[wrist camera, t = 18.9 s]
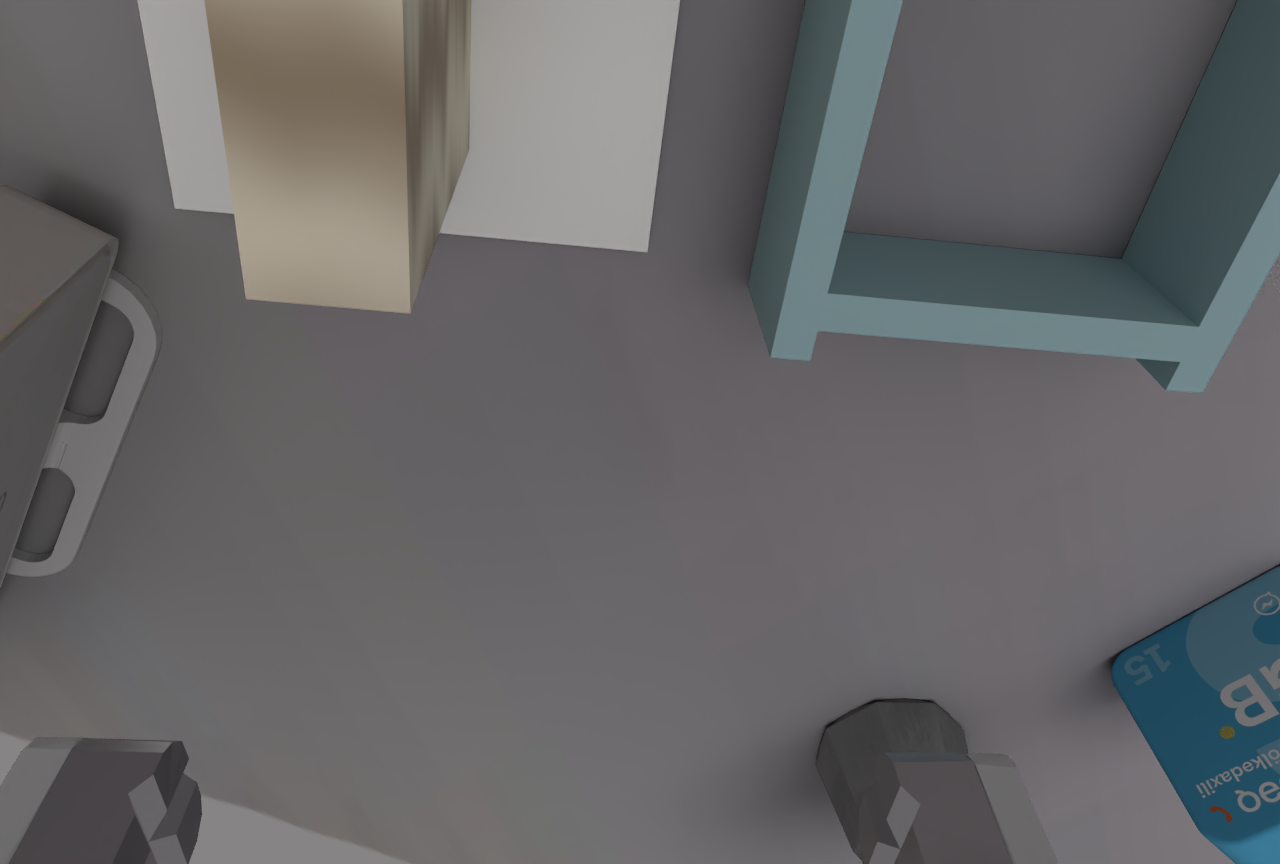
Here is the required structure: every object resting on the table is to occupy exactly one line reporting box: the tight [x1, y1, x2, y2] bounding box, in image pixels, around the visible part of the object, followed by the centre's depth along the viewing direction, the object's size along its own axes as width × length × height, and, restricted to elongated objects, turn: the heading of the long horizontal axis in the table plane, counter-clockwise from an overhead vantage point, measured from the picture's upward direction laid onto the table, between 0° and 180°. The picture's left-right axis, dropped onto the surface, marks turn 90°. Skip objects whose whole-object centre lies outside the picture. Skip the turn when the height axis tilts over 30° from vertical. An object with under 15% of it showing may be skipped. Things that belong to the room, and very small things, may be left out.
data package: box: [1112, 566, 1280, 864], centre depth 47 cm, size 12×4×12 cm, turn 135°
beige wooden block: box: [204, 0, 471, 313], centre depth 25 cm, size 11×4×13 cm, turn 173°
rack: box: [748, 0, 1280, 393], centre depth 30 cm, size 24×17×6 cm
